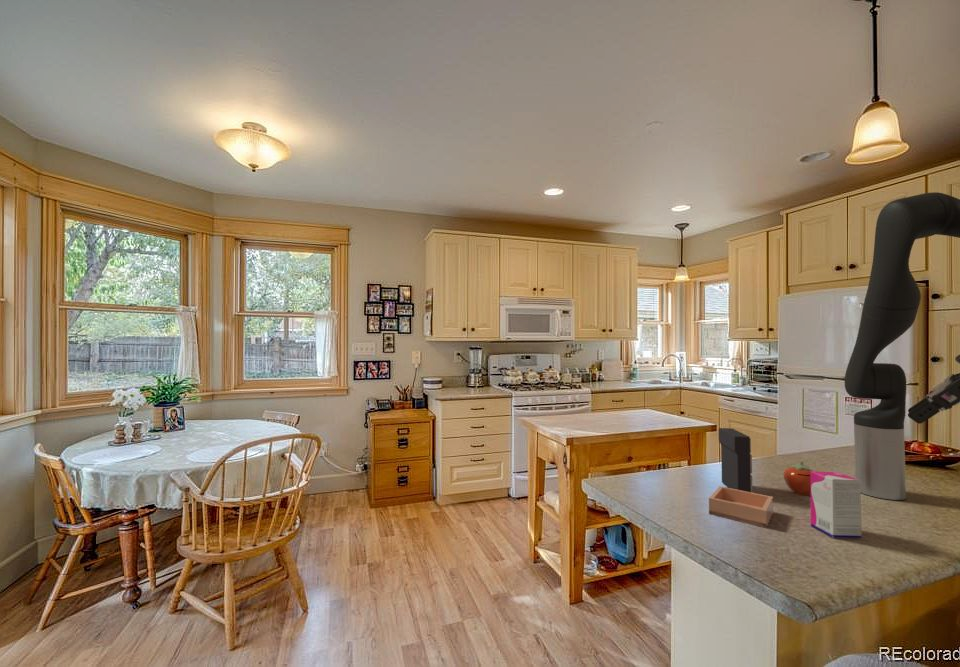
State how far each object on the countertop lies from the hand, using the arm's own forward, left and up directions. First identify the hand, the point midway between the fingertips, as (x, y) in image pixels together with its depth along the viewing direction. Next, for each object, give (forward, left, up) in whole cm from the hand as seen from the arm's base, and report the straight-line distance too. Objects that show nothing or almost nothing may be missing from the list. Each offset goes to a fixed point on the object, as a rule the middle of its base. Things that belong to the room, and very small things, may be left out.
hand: (912, 417), depth 76 cm
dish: (+2, -27, -25) cm, 37 cm away
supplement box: (0, -11, -25) cm, 27 cm away
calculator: (-15, -31, -25) cm, 43 cm away
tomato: (-24, -18, -25) cm, 39 cm away
